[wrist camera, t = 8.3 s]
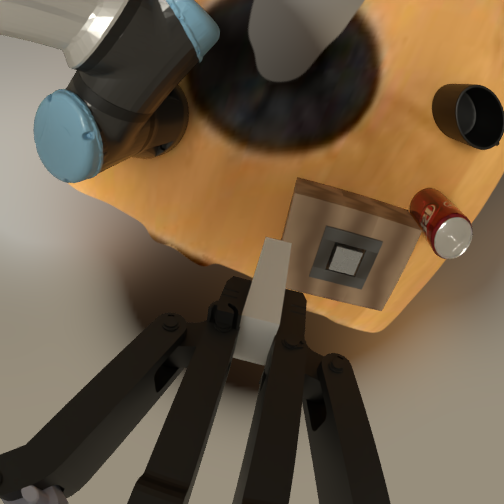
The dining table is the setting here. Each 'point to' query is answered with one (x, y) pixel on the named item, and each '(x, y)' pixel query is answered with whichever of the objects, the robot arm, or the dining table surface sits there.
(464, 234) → the soda can
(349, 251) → the peg
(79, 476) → the robot arm
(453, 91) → the mug
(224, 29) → the dining table surface
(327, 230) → the socket block
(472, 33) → the dining table surface
